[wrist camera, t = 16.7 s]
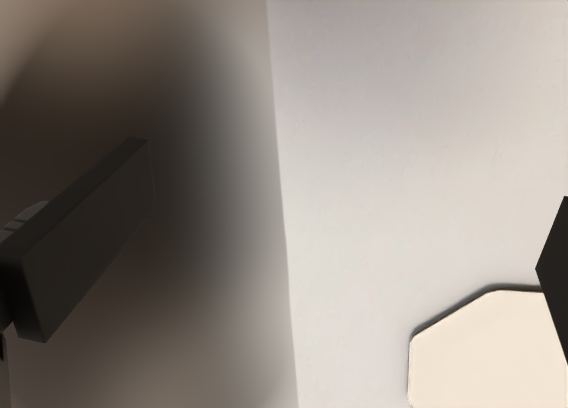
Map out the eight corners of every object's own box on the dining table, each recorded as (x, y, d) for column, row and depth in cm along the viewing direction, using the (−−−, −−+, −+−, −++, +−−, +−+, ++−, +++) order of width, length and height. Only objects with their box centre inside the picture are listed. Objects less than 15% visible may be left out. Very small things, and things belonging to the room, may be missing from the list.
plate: (412, 276, 55) (412, 285, 53) (704, 294, 48) (711, 304, 47) (405, 432, 69) (405, 442, 67) (631, 462, 62) (635, 474, 61)
